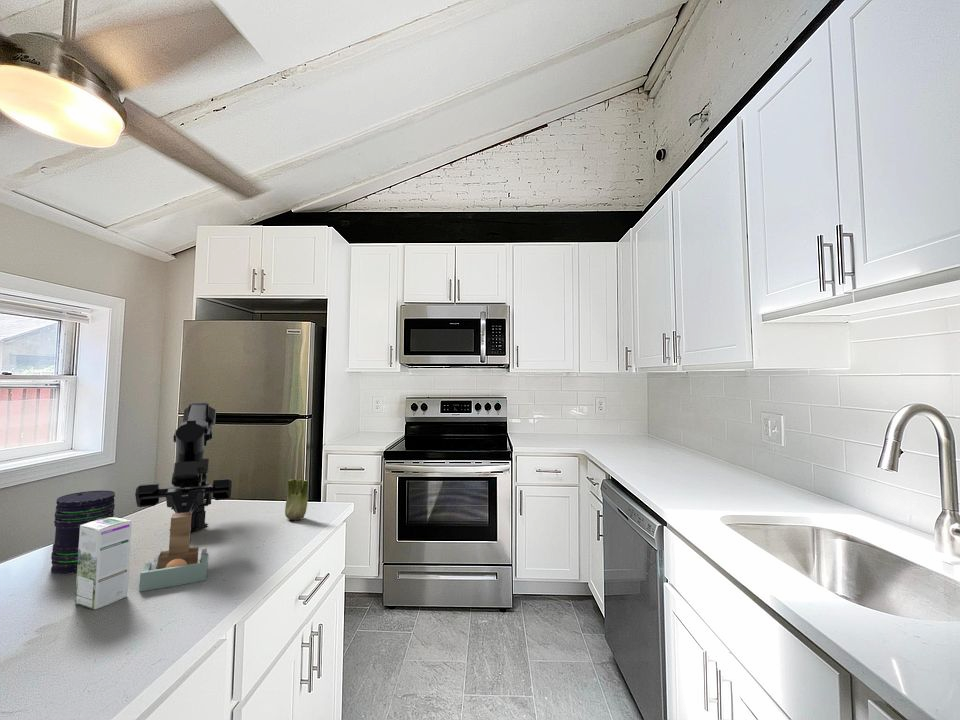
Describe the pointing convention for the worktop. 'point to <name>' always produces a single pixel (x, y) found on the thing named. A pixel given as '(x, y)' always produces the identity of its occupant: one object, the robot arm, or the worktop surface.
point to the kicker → (179, 541)
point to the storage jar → (76, 525)
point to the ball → (176, 563)
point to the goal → (172, 575)
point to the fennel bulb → (296, 500)
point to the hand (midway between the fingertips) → (182, 525)
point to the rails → (155, 561)
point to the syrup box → (103, 562)
